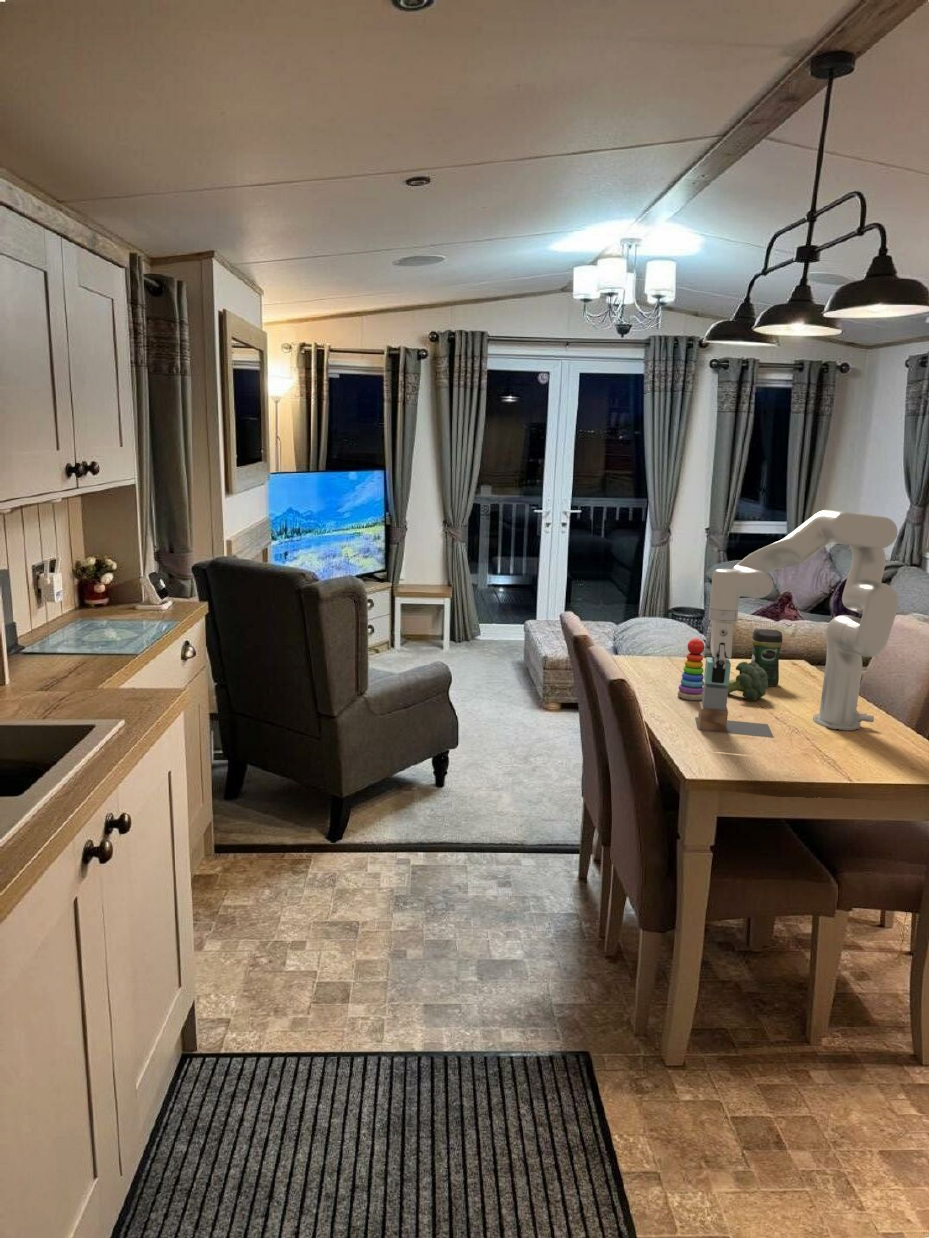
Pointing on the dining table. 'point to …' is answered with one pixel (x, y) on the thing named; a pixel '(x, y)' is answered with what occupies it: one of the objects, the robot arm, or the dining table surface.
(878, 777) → the dining table surface
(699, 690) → the stacking toy
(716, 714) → the tower base
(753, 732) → the mat
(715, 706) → the tower mid
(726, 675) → the teal cube
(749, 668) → the vegetable
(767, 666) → the coffee jar
